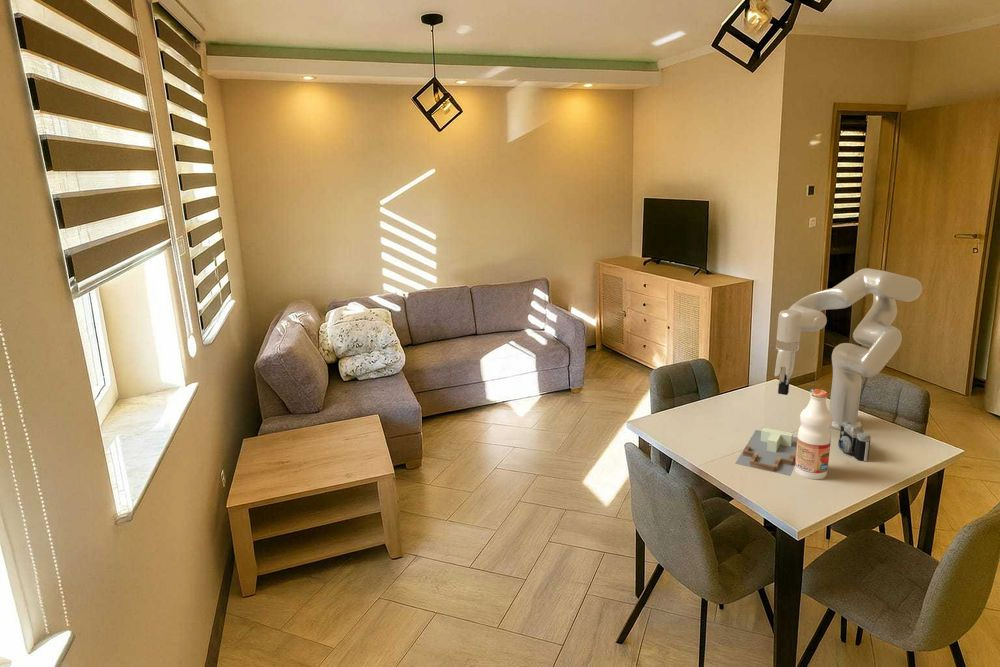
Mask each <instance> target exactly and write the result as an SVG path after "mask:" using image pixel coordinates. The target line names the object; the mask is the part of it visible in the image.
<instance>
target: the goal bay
mask: <svg viewBox="0 0 1000 667" xmlns="http://www.w3.org/2000/svg"><path fill="white" fill-rule="evenodd" d="M746 445H747V444H746ZM746 445H745V447H746V448H745V447H744V448H745V449H744V448H743V450H744V451H743V450H742V452H743V456H748V457H752V458H751V460H750V465H751V467H750V468H752V467H755V468H754V469H757V468H759V469H758V470H761V469H764V470H763V471H766V470H768V471H767V472H770V471H773V472H772V473H775V472H774V471H775V470H776V471H777V469H778V467H779V465H780V463H781V464H786V465H790V466H792V464H793V461H794V459H795V454H792V453H791V455H790V458H789V459H784V458H780V457H777V459H776V461H775V463H774V465H768V464H763V463H759V462H756V460H757V458H758V453H756V452H751V451H750V449H751V445H747V446H746Z"/></svg>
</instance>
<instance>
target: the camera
mask: <svg viewBox="0 0 1000 667" xmlns="http://www.w3.org/2000/svg"><path fill="white" fill-rule="evenodd" d="M839 431H840V434H839V439H838V441H837V445H838V449H839V450H840V451H842V452H843V453H846V454H849V455H851V456H852V457H853V458H854V459H856V460H857V461H859V462H868V461H869V455H870V448H871V447H870V446H871V441H872V437H871V436H870V434H868V433H866V432H865V431H864V429H863V428H862V426H861V427H859V426H857V425H852V423H850V422H849V421H846V422H843V424H841V430H839Z"/></svg>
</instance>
